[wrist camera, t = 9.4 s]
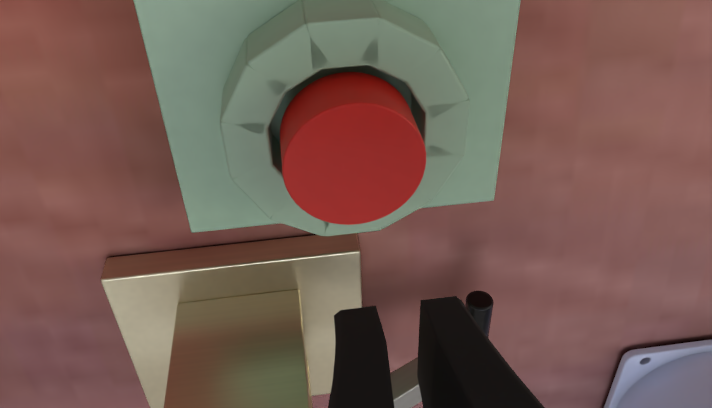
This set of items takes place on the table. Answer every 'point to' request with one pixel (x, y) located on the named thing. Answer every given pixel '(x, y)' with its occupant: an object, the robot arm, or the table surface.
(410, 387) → the power lever
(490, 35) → the stop box
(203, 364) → the switch bracket
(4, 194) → the table surface
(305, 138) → the stop button
